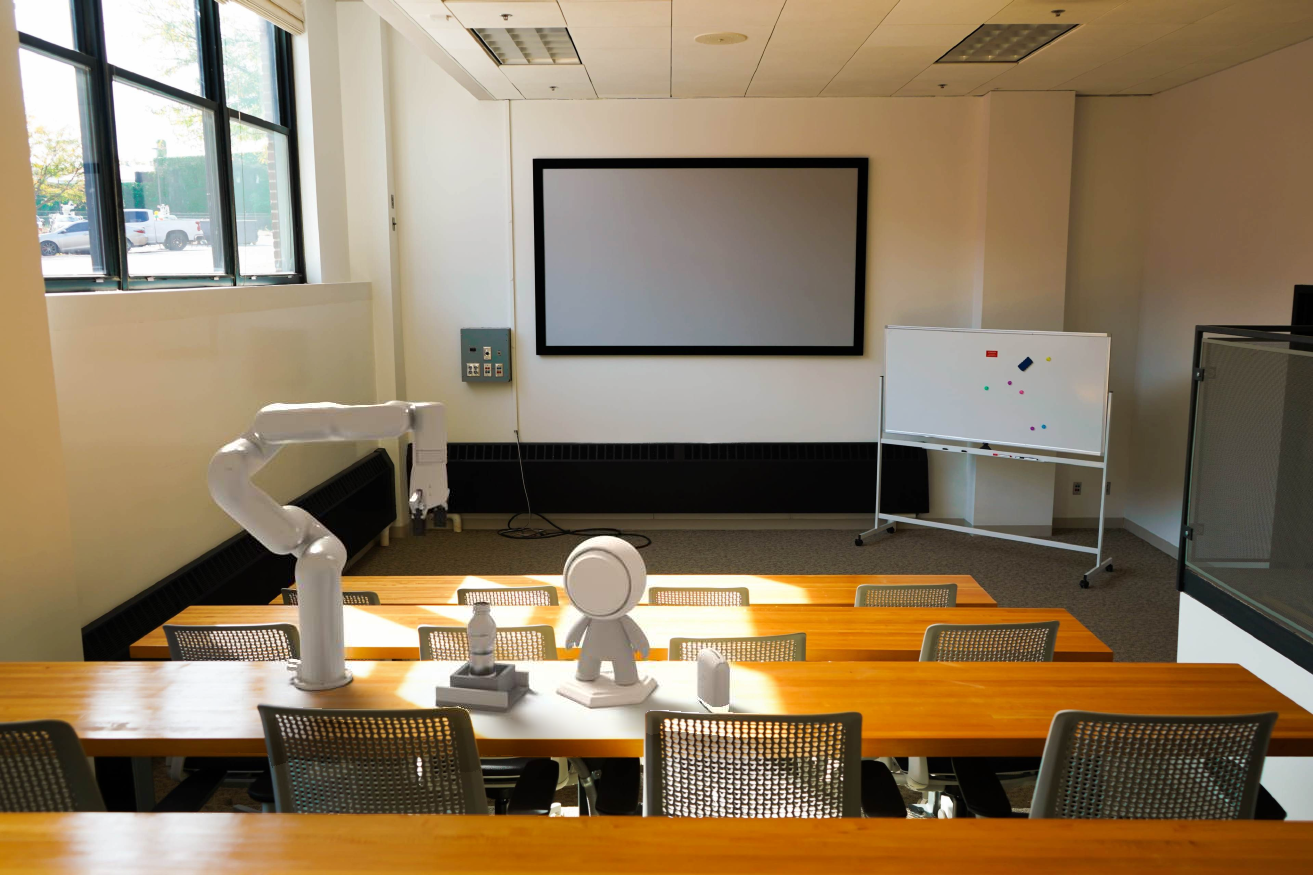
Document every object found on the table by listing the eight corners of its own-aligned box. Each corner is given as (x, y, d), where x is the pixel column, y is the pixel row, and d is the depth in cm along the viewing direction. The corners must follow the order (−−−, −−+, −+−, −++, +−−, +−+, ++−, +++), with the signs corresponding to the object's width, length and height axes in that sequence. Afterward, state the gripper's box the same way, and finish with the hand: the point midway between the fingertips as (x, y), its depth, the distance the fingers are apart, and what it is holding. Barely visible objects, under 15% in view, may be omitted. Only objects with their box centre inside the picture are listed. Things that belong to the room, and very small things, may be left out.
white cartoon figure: (545, 702, 209) (544, 543, 205) (583, 666, 231) (583, 522, 227) (633, 713, 204) (634, 550, 200) (664, 675, 226) (665, 528, 221)
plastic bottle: (502, 688, 214) (501, 600, 212) (491, 699, 208) (490, 609, 206) (474, 686, 216) (473, 598, 213) (462, 697, 209) (461, 607, 207)
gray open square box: (435, 705, 207) (435, 678, 207) (462, 681, 221) (462, 656, 220) (505, 712, 204) (505, 684, 203) (529, 688, 217) (529, 662, 217)
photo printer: (694, 699, 212) (695, 644, 210) (712, 696, 213) (713, 642, 212) (713, 717, 202) (714, 659, 201) (732, 714, 204) (732, 657, 202)
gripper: (432, 451, 229) (432, 522, 231) (395, 460, 212) (396, 537, 214) (461, 453, 227) (462, 525, 229) (426, 462, 210) (427, 540, 212)
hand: (430, 531), depth 221 cm, fingers open, 9 cm apart
